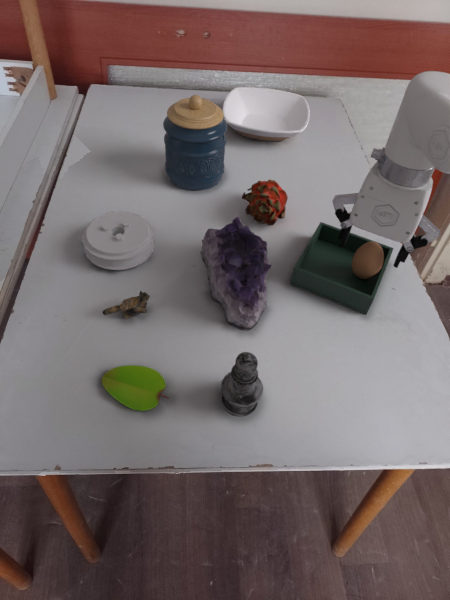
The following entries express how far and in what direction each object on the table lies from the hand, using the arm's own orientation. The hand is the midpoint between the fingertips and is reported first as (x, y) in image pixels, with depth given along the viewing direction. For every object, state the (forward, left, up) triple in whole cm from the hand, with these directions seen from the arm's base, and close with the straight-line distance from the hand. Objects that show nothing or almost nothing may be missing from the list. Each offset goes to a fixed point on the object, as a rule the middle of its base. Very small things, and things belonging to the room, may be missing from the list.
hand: (369, 252), depth 78 cm
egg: (0, 0, -6) cm, 6 cm away
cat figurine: (+31, +28, -6) cm, 43 cm away
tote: (+3, +1, -6) cm, 7 cm away
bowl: (+36, -39, -6) cm, 54 cm away
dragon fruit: (+22, -7, -6) cm, 24 cm away
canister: (+41, -12, -6) cm, 44 cm away
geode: (+18, +13, -6) cm, 24 cm away
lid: (+41, +16, -6) cm, 45 cm away
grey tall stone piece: (+8, +33, -6) cm, 35 cm away
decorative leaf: (+22, +39, -6) cm, 45 cm away
